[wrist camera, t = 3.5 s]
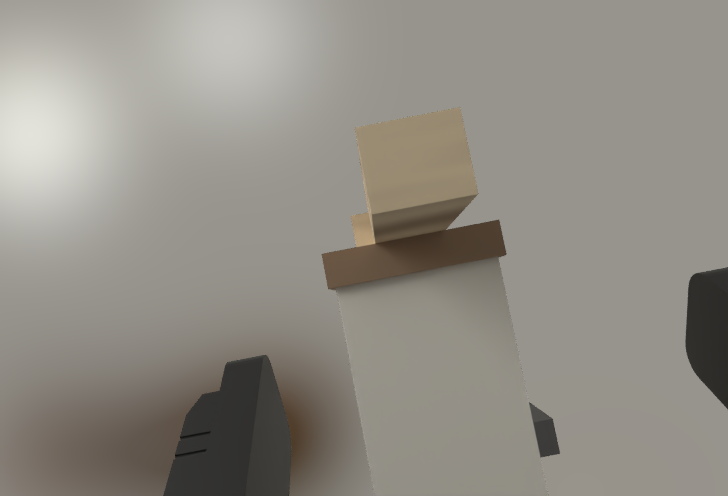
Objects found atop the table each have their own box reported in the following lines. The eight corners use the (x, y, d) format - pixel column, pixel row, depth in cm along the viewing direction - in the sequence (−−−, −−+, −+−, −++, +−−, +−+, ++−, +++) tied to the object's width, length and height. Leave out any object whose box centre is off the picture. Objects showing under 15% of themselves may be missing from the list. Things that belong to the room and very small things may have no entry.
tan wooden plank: (362, 265, 39) (354, 226, 39) (439, 250, 39) (432, 211, 39) (336, 221, 17) (319, 134, 17) (514, 187, 17) (495, 100, 17)
